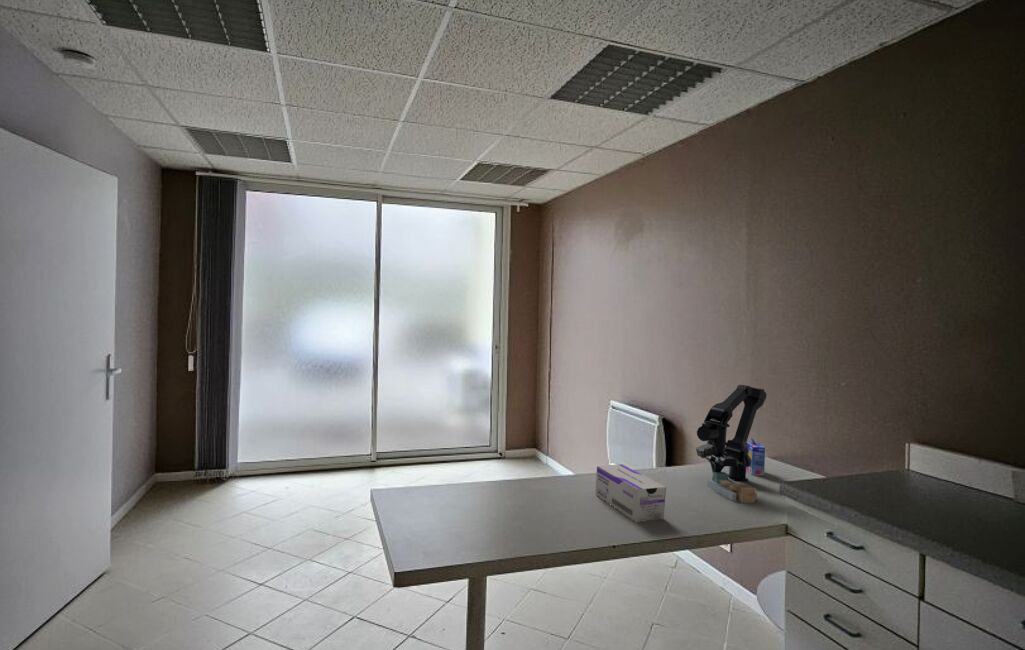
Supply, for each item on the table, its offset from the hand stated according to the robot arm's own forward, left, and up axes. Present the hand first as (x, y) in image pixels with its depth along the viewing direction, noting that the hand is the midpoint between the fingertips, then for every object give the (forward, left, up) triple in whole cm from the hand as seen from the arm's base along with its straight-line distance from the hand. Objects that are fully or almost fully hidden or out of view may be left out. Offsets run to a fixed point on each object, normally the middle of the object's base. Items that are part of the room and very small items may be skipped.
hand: (715, 477), depth 212 cm
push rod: (+8, 0, -2) cm, 8 cm away
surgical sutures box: (+20, -47, -3) cm, 51 cm away
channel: (+10, 0, -3) cm, 11 cm away
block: (+17, 0, -3) cm, 17 cm away
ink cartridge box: (-14, +28, -3) cm, 31 cm away
